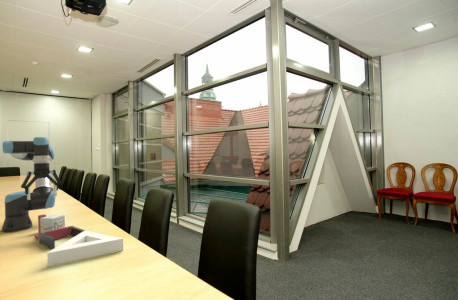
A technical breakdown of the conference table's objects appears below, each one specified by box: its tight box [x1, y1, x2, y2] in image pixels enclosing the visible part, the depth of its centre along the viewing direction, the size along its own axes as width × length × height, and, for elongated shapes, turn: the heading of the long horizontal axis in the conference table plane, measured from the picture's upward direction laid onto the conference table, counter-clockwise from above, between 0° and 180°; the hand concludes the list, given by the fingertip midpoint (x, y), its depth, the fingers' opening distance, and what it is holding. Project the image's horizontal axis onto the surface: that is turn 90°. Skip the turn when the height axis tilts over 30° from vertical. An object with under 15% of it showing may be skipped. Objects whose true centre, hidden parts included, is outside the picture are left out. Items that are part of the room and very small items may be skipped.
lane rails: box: [38, 225, 86, 250], centre depth 139 cm, size 16×16×5 cm
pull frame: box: [34, 214, 71, 240], centre depth 149 cm, size 24×12×10 cm, turn 54°
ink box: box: [40, 213, 66, 233], centre depth 146 cm, size 9×8×12 cm
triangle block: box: [47, 230, 124, 267], centre depth 127 cm, size 30×26×6 cm
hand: (42, 197), depth 154 cm, fingers open, 13 cm apart
